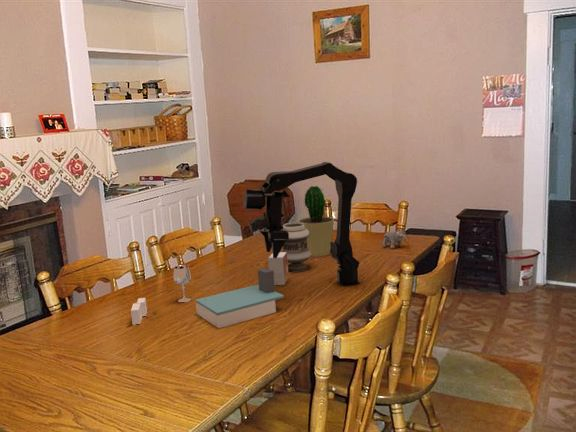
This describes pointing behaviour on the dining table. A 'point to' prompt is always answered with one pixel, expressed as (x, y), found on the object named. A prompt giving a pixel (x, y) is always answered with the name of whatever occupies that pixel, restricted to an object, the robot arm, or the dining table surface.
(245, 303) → the lid
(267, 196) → the robot arm
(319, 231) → the potted cactus
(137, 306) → the napkin holder
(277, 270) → the small box
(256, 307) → the carton
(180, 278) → the wineglass
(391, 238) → the gray elephant figurine
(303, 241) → the apothecary jar
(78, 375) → the dining table surface
